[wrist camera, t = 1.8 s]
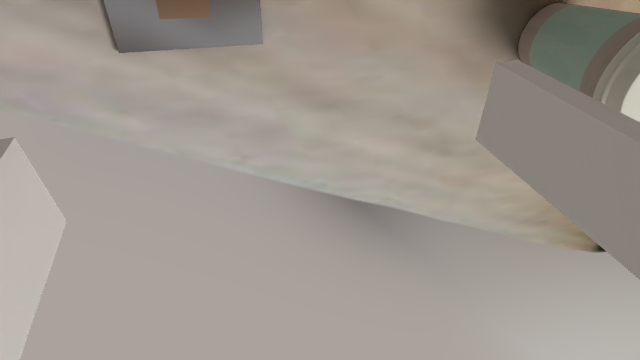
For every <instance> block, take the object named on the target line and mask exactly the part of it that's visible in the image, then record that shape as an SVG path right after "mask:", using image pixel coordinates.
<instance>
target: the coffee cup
mask: <svg viewBox="0 0 640 360" xmlns="http://www.w3.org/2000/svg"><path fill="white" fill-rule="evenodd" d="M518 53H519V57H520V59H521V61H522V62H523V63H525V64H527V65H529V66H531V67H533V68H535V69H537V70H539V71H541V72H543V73H544V74H546V75H548V76H550V77H552V78H554V79H556V80H558V81H560V82H562V83H564V84H566V85H568V86H570V87H572V88H574V89H576V90H578V91H580V92H582V93H584V94H585V95H587V96H589V97H591V98H593V99H595V100H597V101H599V102H601V103H603V104H605V105H607V106H609V107H611V108H613V109H615V110H617V111H619V112H621V113H623V114H625V115H626V116H628V117H630V118H632V119H634V120H636V121H638V122H640V14H639V13H632V12H624V11H617V10H610V9H603V8H596V7H588V6H581V5H573V4H565V3H554V4H550V5H548V6H546V7H544V8H543V9H541V10H540V11H539V12H537V13H536V14H535V15H534V16H533V17H532V18H531V19H530V21H529V22H528V23H527V25H526V26H525V28H524V30H523V32H522V34H521V37H520V40H519V45H518Z"/></svg>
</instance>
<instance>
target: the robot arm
mask: <svg viewBox="0 0 640 360" xmlns="http://www.w3.org/2000/svg"><path fill="white" fill-rule="evenodd" d="M476 140H477V141H478V142H479V143H480V144H482V145H483V146H484V147H485V148H486V149H487V150H489V151H490V152H491V153H492V154H493V155H494V156H496V157H497V158H498V159H499V160H500V161H501V162H503V163H504V164H505V165H506V166H507V167H508V168H510V169H511V170H512V171H513V172H514V173H515V174H517V175H518V176H519V177H520V178H521V179H522V180H524V181H525V182H526V183H527V184H528V185H530V186H531V187H532V188H533V189H534V190H535V191H537V192H538V193H539V194H540V195H541V196H542V197H544V198H545V199H546V200H547V201H548V202H549V203H551V204H552V205H553V206H554V207H555V208H556V209H558V210H559V211H560V212H561V213H562V214H563V215H565V216H566V217H567V218H568V219H569V220H570V221H572V222H573V223H574V224H575V225H576V226H578V227H579V228H580V229H581V230H582V231H583V232H585V233H586V234H587V235H588V236H589V237H590V238H592V239H593V240H594V241H595V242H596V243H597V244H599V245H600V246H601V247H602V248H603V249H604V250H606V251H607V252H608V253H609V254H611V256H613V257H614V258H615V259H616V260H617V261H618V262H620V263H621V264H622V265H623V266H624V267H626V268H627V269H628V270H629V271H630V272H631V273H633V274H634V275H635V276H636V277H637V278H639V279H640V122H638V121H636V120H634V119H632V118H630V117H628V116H626V115H625V114H623V113H621V112H619V111H617V110H615V109H613V108H611V107H609V106H607V105H605V104H603V103H601V102H599V101H597V100H595V99H593V98H591V97H589V96H587V95H585V94H584V93H582V92H580V91H578V90H576V89H574V88H572V87H570V86H568V85H566V84H564V83H562V82H560V81H558V80H556V79H554V78H552V77H550V76H548V75H546V74H544V73H543V72H541V71H539V70H537V69H535V68H533V67H531V66H529V65H527V64H525V63H523V62H521V61H519V60H511V61H504V62H498V63H496V64H495V68H494V72H493V75H492V79H491V83H490V87H489V91H488V94H487V98H486V102H485V106H484V110H483V113H482V117H481V121H480V125H479V129H478V132H477V136H476ZM65 224H66V220H65V218H64V216H63V215H62V213H61V211H60V210H59V208H58V207H57V205H56V204H55V202H54V200H53V199H52V197H51V195H50V194H49V192H48V190H47V189H46V187H45V186H44V184H43V182H42V181H41V179H40V177H39V176H38V174H37V173H36V171H35V169H34V168H33V166H32V165H31V163H30V161H29V160H28V158H27V157H26V155H25V153H24V152H23V150H22V149H21V147H20V145H19V144H18V142H17V140H16V139H15V137H14V138H7V139H1V140H0V360H20V357H21V354H22V351H23V348H24V345H25V342H26V339H27V336H28V333H29V330H30V328H31V325H32V322H33V319H34V316H35V313H36V310H37V307H38V304H39V301H40V298H41V295H42V292H43V289H44V286H45V283H46V280H47V277H48V274H49V271H50V269H51V266H52V263H53V260H54V257H55V254H56V250H57V248H58V245H59V242H60V239H61V236H62V233H63V230H64V227H65Z"/></svg>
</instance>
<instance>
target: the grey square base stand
mask: <svg viewBox="0 0 640 360" xmlns="http://www.w3.org/2000/svg"><path fill="white" fill-rule="evenodd" d="M104 4H105V7H106V11H107V14H108V17H109V21H110V24H111V28H112V31H113V34H114V38H115V41H116V45H117V48H118V51H119V53H126V52H142V51H158V50H174V49H190V48H206V47H221V46H237V45H253V44H263V40H262V24H261V8H260V0H104Z"/></svg>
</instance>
